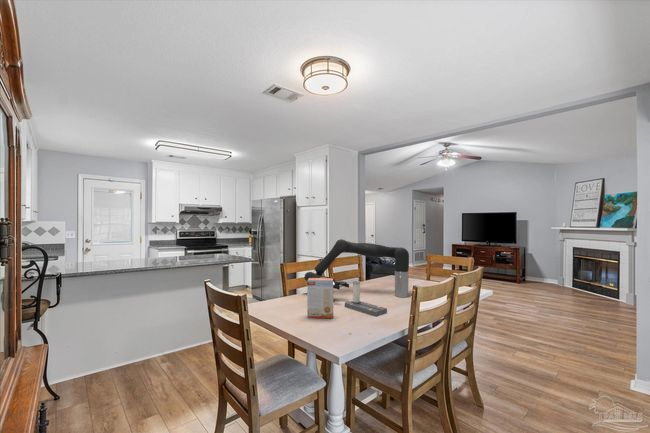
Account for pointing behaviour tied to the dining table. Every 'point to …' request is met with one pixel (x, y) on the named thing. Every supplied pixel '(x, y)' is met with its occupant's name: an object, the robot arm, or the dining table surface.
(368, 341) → the dining table surface
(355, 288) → the fader tab
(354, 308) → the fader console
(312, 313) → the cracker box
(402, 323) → the dining table surface
